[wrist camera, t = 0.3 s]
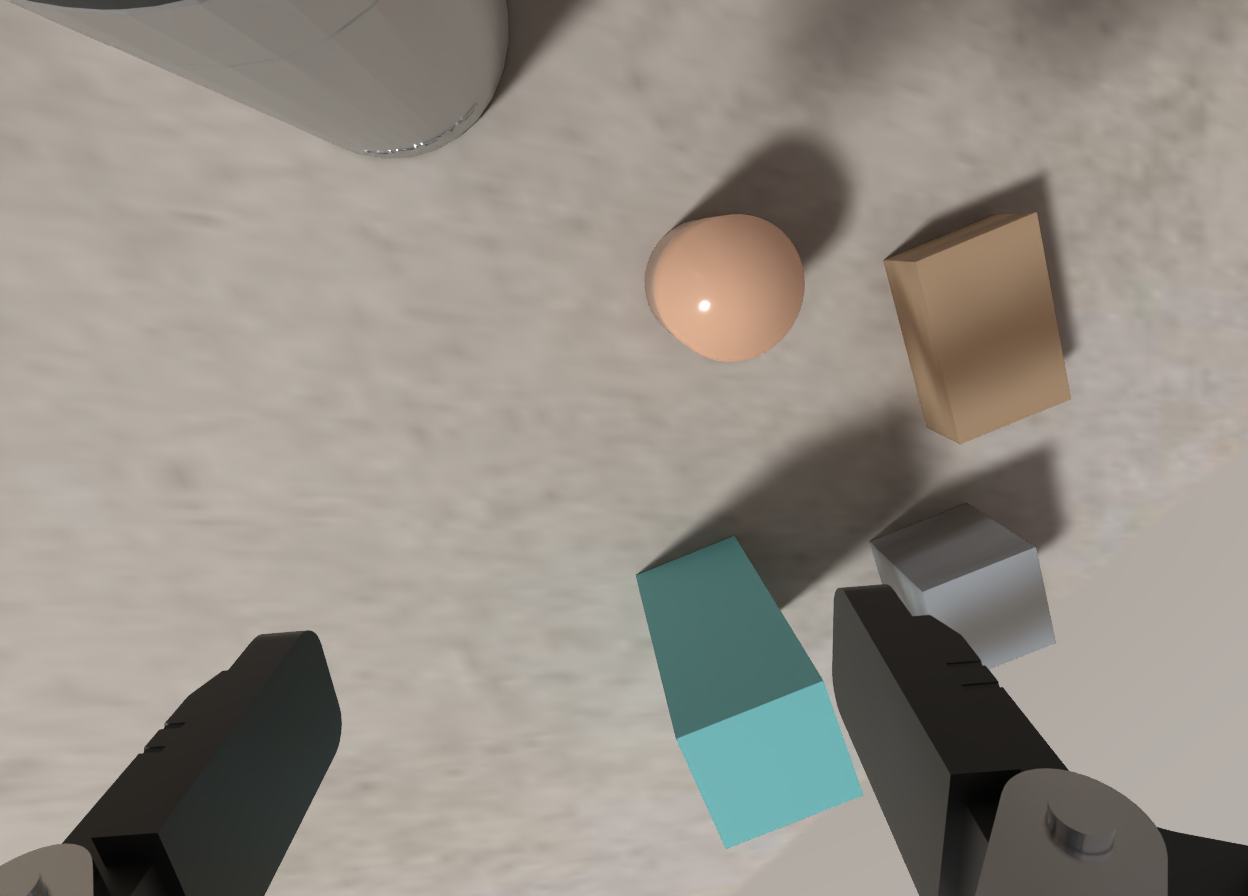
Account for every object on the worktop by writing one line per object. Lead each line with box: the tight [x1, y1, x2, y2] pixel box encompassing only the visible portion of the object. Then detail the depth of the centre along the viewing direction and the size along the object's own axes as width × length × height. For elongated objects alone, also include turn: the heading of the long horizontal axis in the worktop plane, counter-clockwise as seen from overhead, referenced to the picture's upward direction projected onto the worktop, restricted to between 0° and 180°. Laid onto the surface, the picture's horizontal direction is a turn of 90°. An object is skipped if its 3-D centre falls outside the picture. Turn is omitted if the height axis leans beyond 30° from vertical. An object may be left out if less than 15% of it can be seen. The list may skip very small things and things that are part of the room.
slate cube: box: [870, 503, 1056, 669], centre depth 31 cm, size 5×5×5 cm
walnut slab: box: [883, 212, 1071, 444], centre depth 29 cm, size 8×5×3 cm, turn 22°
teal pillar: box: [636, 536, 863, 849], centre depth 27 cm, size 5×5×11 cm
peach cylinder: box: [645, 214, 805, 362], centre depth 26 cm, size 5×5×5 cm
